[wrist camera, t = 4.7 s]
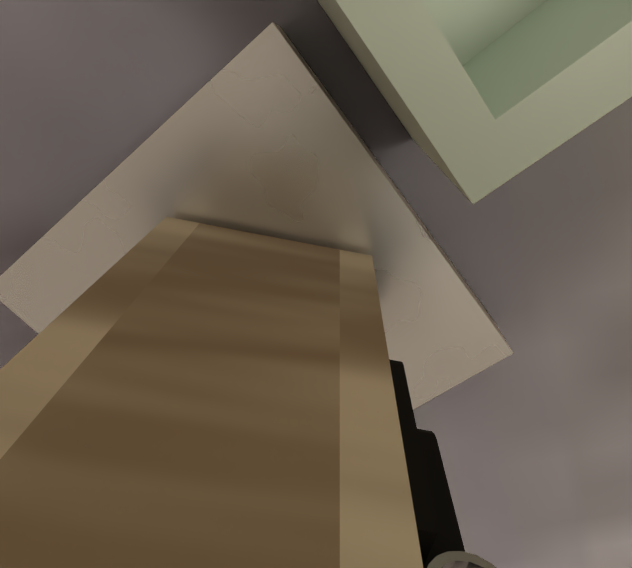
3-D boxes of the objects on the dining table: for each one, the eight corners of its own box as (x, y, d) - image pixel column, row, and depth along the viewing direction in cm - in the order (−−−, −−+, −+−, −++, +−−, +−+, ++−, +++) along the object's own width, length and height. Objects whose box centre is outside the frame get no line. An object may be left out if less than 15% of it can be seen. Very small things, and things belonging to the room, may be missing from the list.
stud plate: (280, 26, 11) (217, -9, 5) (496, 325, 14) (607, 511, 8) (20, 266, 14) (-207, 415, 8) (246, 471, 17) (199, 686, 11)
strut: (166, 217, 11) (-834, 1137, 2) (372, 255, 12) (539, 1286, 2) (157, 384, 14) (-310, 1224, 4) (331, 415, 14) (311, 1289, 4)
